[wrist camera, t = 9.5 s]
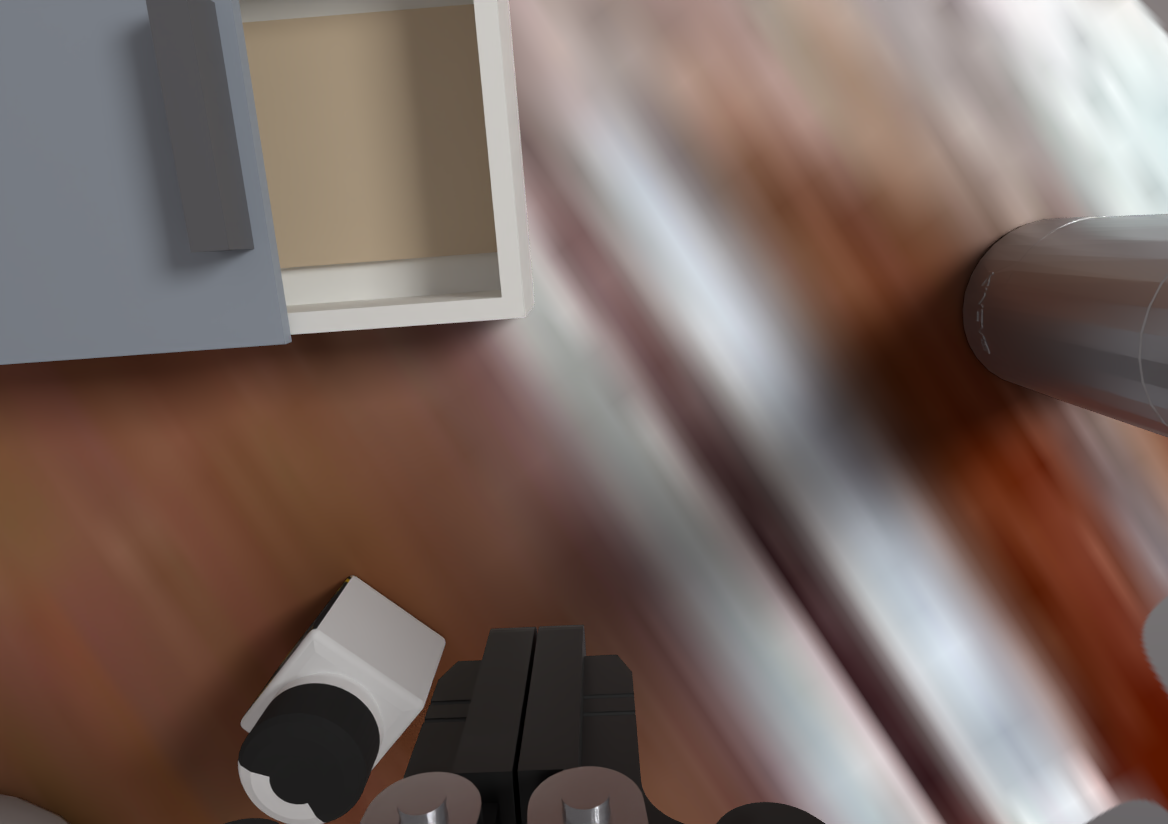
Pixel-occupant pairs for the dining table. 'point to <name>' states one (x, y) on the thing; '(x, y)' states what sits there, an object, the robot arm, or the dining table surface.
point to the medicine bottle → (336, 706)
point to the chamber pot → (26, 812)
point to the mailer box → (391, 160)
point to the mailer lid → (131, 183)
